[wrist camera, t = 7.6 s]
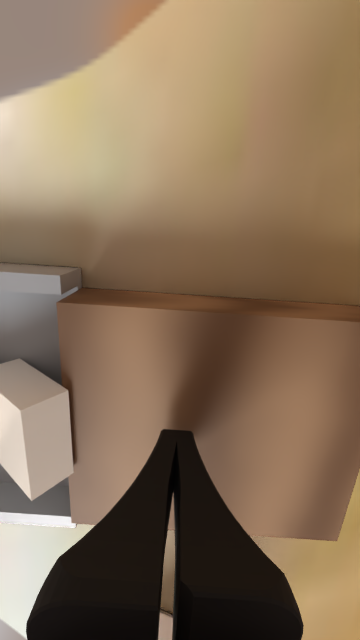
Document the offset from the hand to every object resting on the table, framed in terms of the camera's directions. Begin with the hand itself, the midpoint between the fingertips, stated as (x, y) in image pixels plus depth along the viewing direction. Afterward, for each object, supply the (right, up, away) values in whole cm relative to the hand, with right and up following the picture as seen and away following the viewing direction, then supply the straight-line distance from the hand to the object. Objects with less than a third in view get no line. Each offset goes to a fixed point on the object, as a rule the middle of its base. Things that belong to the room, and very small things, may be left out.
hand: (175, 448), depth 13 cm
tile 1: (-7, +1, +2) cm, 7 cm away
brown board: (+2, +1, +4) cm, 4 cm away
